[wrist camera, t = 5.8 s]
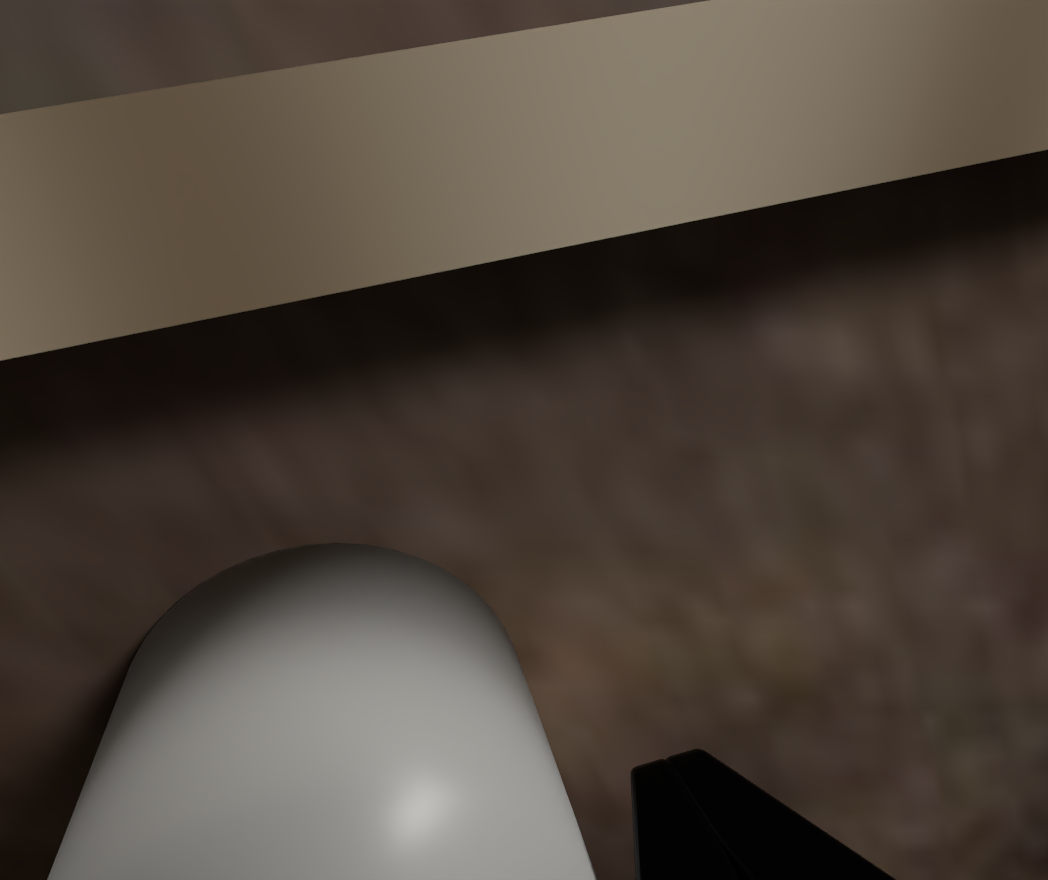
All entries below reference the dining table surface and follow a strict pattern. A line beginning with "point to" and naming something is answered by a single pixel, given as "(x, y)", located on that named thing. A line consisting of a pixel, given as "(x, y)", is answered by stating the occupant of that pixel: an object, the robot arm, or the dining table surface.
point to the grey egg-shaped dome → (325, 736)
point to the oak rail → (490, 152)
